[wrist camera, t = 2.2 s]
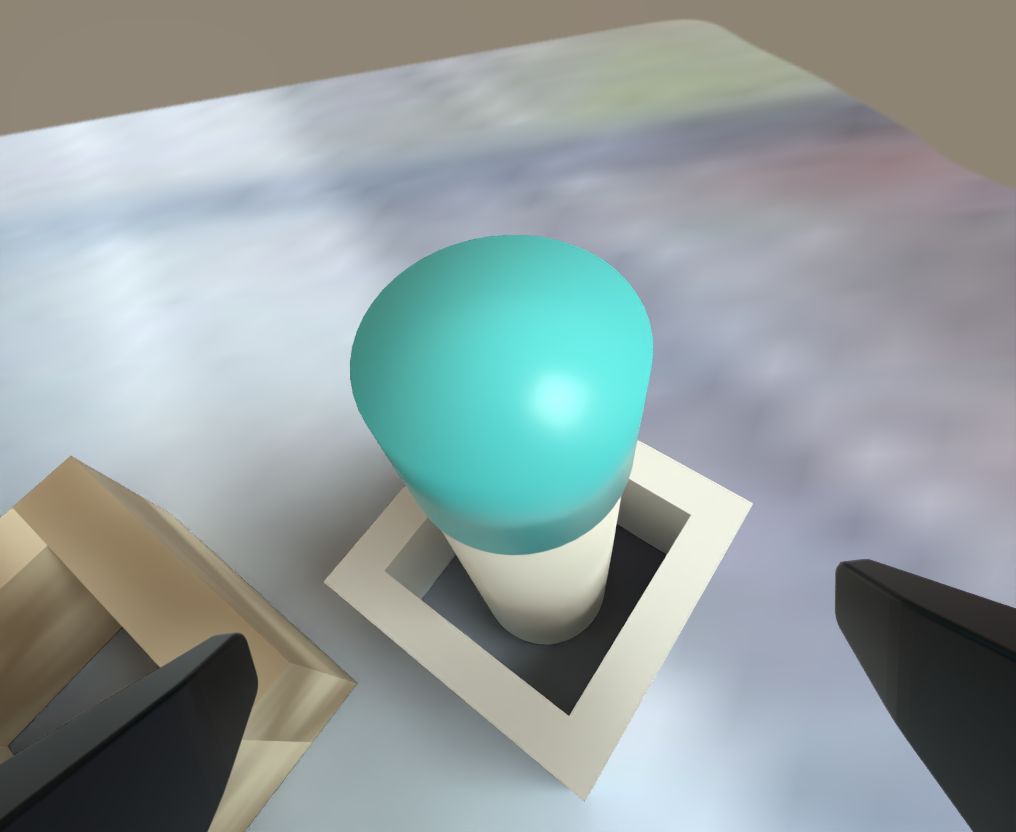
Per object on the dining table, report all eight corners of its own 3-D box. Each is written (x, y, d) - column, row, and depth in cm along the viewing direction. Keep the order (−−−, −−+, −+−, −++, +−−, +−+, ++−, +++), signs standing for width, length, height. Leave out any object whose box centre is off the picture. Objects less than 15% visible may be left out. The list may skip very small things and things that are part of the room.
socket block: (90, 1033, 15) (-111, 1150, 10) (-79, 761, 18) (-279, 764, 14) (357, 683, 18) (289, 662, 14) (170, 513, 22) (70, 455, 18)
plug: (619, 640, 18) (686, 460, 7) (485, 654, 18) (340, 501, 7) (597, 513, 20) (622, 217, 9) (478, 527, 20) (357, 254, 9)
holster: (583, 790, 16) (584, 801, 13) (368, 611, 19) (323, 582, 16) (721, 548, 19) (753, 503, 16) (516, 426, 22) (504, 366, 19)
